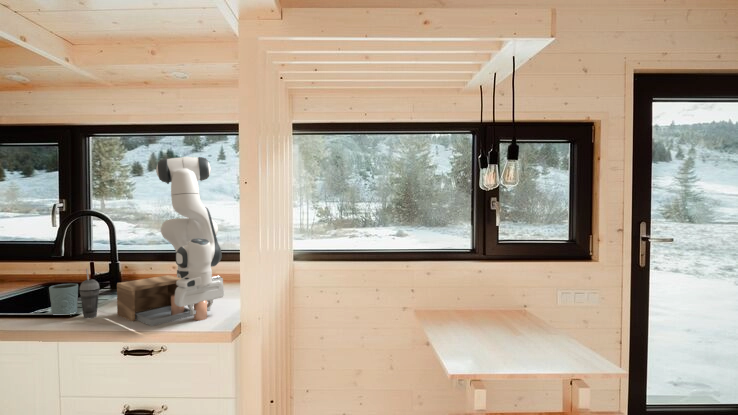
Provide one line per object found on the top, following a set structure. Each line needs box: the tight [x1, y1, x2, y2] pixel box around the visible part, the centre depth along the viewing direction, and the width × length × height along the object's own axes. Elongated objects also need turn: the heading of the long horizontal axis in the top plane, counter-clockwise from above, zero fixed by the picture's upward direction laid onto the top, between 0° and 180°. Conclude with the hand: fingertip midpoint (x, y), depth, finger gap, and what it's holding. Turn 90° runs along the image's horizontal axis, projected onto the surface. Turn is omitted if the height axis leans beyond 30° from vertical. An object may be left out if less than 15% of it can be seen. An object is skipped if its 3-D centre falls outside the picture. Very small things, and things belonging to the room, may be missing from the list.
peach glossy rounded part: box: [171, 295, 184, 315], centre depth 178 cm, size 5×5×8 cm
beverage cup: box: [78, 268, 101, 319], centre depth 176 cm, size 7×7×20 cm
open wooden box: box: [116, 274, 186, 322], centre depth 181 cm, size 22×13×14 cm, turn 143°
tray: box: [135, 305, 194, 327], centre depth 175 cm, size 18×15×3 cm
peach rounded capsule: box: [193, 300, 208, 321], centre depth 173 cm, size 5×5×8 cm
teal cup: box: [48, 283, 79, 315], centre depth 180 cm, size 10×10×12 cm
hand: (200, 312), depth 174 cm, fingers closed on peach rounded capsule, 5 cm apart
